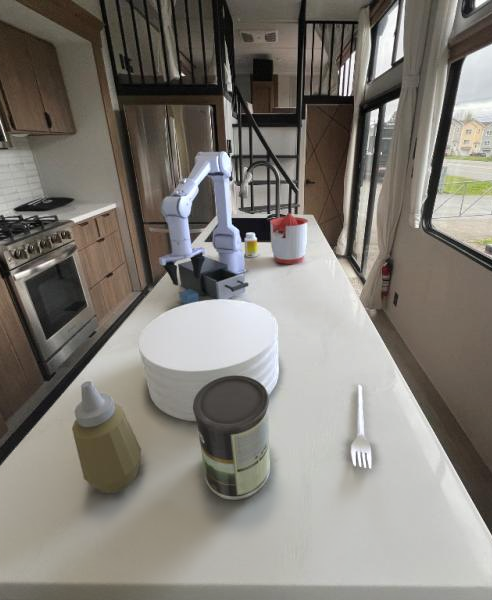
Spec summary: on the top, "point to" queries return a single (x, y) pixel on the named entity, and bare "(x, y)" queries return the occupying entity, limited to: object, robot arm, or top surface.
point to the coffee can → (233, 435)
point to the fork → (360, 437)
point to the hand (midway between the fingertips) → (186, 281)
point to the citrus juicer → (288, 239)
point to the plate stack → (206, 350)
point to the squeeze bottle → (105, 442)
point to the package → (188, 296)
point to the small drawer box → (207, 267)
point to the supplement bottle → (250, 245)
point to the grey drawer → (223, 283)
